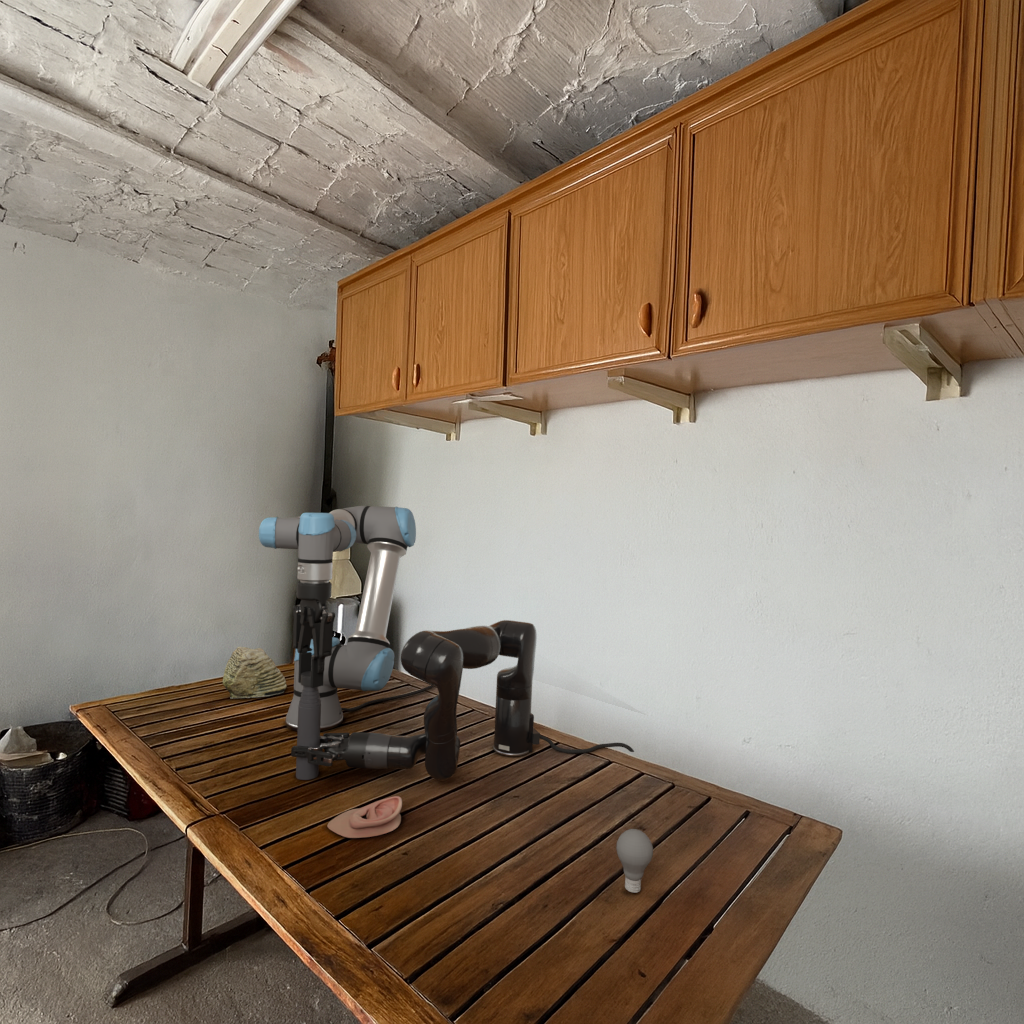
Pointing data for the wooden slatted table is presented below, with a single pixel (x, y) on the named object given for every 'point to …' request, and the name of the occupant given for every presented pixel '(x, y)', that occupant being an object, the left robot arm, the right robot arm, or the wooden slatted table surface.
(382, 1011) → the wooden slatted table surface
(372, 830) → the anatomical model
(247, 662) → the fossil
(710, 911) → the wooden slatted table surface
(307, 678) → the cap
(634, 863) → the light bulb
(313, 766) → the bottle
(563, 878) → the wooden slatted table surface
